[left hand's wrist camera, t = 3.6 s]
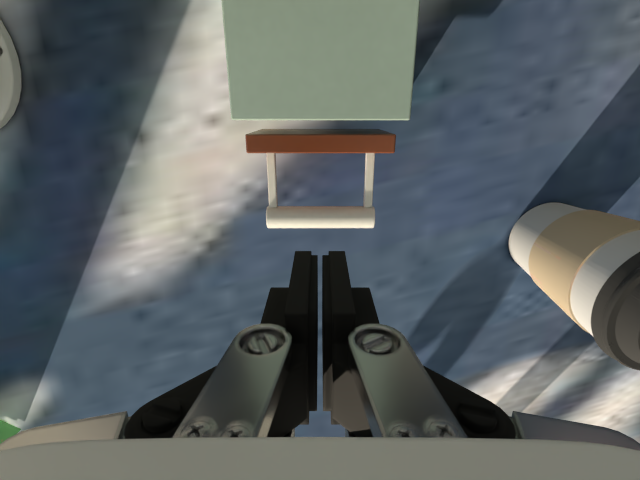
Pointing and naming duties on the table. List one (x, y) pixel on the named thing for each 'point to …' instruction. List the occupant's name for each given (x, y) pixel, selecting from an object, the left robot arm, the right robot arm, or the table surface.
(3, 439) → the toy game set
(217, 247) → the table surface
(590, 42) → the table surface
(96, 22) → the table surface
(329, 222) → the drawer
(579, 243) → the coffee cup
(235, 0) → the cabinet
